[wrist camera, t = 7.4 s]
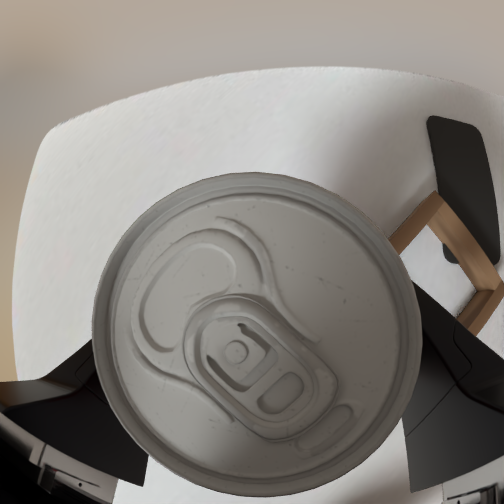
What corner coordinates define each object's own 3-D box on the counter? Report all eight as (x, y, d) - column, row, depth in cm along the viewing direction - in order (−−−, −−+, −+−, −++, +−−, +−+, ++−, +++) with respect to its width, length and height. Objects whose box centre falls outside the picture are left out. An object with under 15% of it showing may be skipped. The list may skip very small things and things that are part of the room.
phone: (444, 262, 19) (425, 113, 21) (440, 263, 20) (422, 117, 22) (501, 265, 18) (479, 127, 20) (496, 266, 19) (476, 130, 21)
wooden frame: (489, 290, 18) (507, 289, 15) (414, 380, 19) (427, 391, 16) (421, 201, 21) (435, 190, 18) (337, 289, 21) (341, 289, 18)
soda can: (286, 224, 16) (228, 79, 5) (377, 304, 14) (519, 321, 3) (207, 313, 16) (34, 330, 5) (292, 393, 15) (246, 552, 3)
